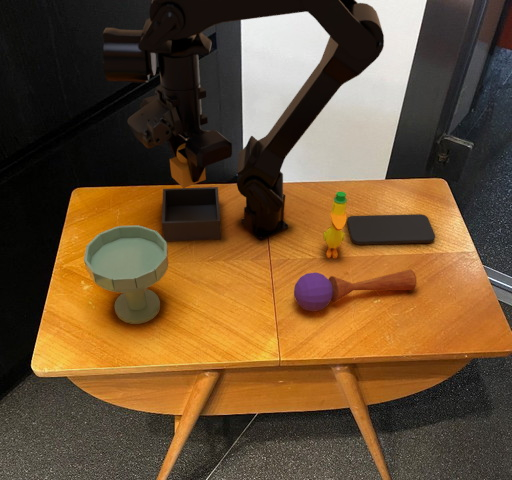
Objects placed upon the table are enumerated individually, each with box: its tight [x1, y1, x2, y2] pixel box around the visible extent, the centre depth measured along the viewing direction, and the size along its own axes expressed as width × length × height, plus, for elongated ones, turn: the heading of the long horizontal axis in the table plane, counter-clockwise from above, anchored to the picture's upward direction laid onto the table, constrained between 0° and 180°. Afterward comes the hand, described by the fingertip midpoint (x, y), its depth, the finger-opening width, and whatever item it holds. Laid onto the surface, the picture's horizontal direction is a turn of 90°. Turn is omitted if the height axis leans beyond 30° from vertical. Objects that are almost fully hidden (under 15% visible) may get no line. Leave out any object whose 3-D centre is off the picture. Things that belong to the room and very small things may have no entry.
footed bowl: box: [83, 224, 170, 325], centre depth 81 cm, size 11×11×12 cm
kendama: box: [293, 269, 417, 312], centre depth 86 cm, size 6×6×20 cm
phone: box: [346, 213, 436, 245], centre depth 99 cm, size 7×1×15 cm
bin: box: [161, 186, 222, 242], centre depth 98 cm, size 10×10×4 cm
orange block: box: [169, 143, 207, 188], centre depth 90 cm, size 4×4×6 cm
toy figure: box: [322, 191, 348, 259], centre depth 90 cm, size 7×4×12 cm, turn 177°
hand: (188, 175), depth 92 cm, fingers closed on orange block, 4 cm apart
